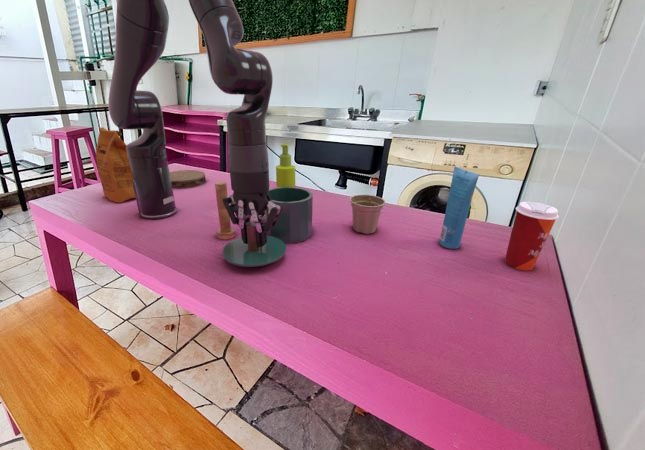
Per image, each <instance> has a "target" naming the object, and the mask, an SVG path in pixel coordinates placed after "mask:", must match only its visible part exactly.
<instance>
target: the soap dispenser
mask: <svg viewBox="0 0 645 450" xmlns="http://www.w3.org/2000/svg"><path fill="white" fill-rule="evenodd" d="M291 145H292V143H291V142H282V143H281V144H280V147H281V148H282V153H281V154H279V164H278V165H276V166H275V180H276V181H275V182H276V188H277V187H296V166H295V165H293V164H292V155H291V154H290V153H289V146H291Z"/></svg>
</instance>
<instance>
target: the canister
mask: <svg viewBox="0 0 645 450" xmlns="http://www.w3.org/2000/svg"><path fill="white" fill-rule="evenodd" d="M269 196H270V198H271V202H273V203H274V204H276V205H278V204H280V205H282V210H281V213H280V215H279V218H278V220H277V222H276V225H275V227H274V228H272V229H270V230H269V231H268V232H267V235H268V236H273V237H276V238H278V239H280V240H282V241H283V242H284V243H285V244H294V243H295V244H296V243H299V242H300V243H301V242H303V241H305V240H308V239H309V238H311V236H312V234H313V219H314V218H313V217H314V216H313V215H314V213H313V212H314V211H313V210H314V208H313V207H314V193H313V192H312V191H311V190H309V189H306V188H303V187H297V186H295V187H277V186H276V187H273V188H269ZM268 210H269V208H268V207H267V209H266V212H267V219H268V216H269V213H268Z"/></svg>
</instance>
